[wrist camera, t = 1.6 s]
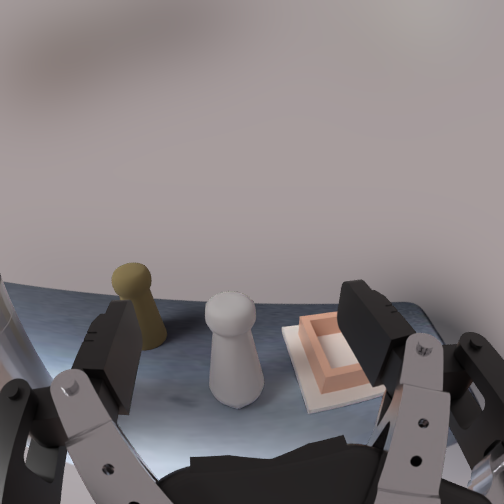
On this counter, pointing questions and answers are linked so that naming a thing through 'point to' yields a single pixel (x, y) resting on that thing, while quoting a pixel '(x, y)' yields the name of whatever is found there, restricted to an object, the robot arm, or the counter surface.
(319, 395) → the tray
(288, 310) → the counter surface
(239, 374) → the salt shaker
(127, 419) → the counter surface
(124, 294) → the pepper shaker
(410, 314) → the counter surface
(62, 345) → the counter surface
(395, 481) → the robot arm
